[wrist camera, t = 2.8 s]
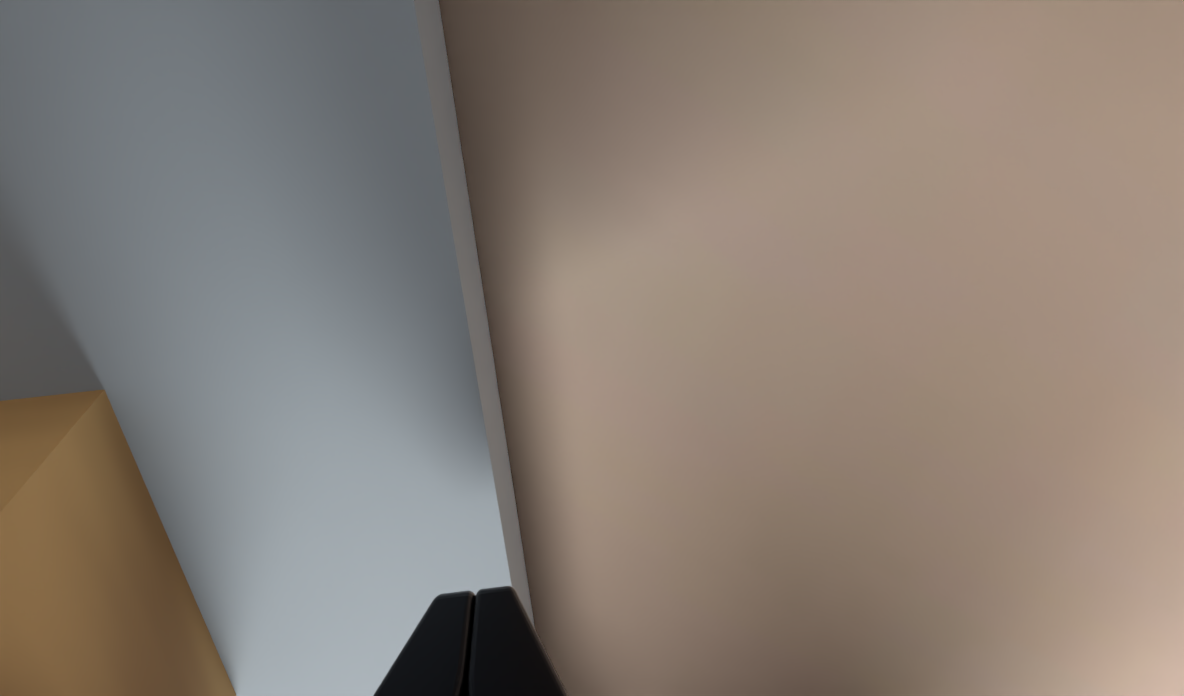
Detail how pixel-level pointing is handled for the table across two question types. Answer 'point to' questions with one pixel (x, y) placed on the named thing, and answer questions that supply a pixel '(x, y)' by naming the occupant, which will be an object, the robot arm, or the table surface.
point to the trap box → (265, 308)
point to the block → (90, 564)
